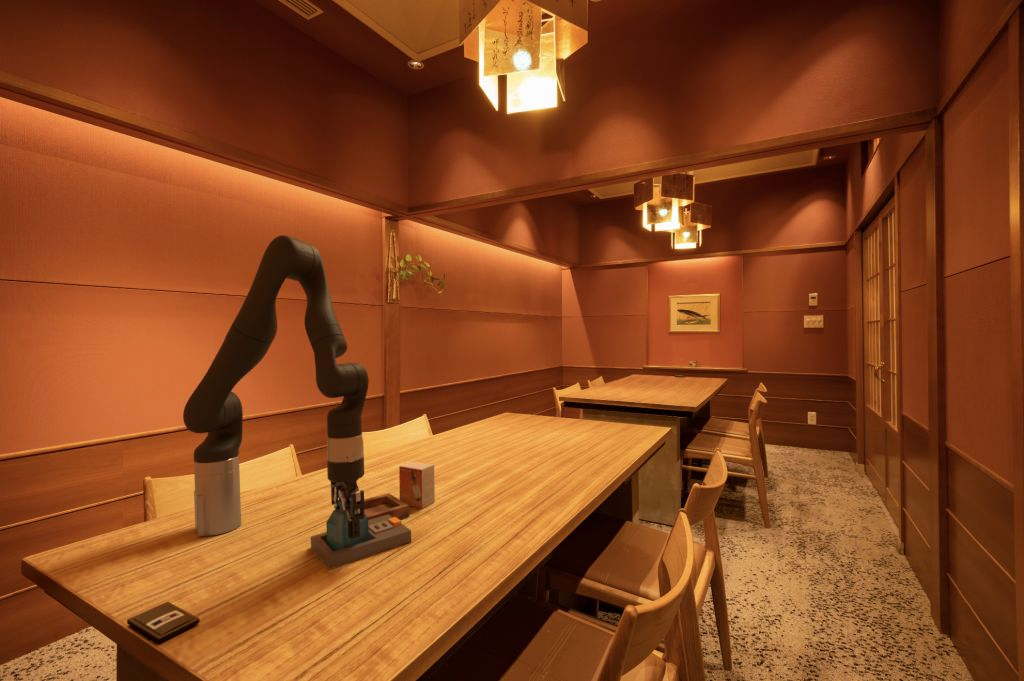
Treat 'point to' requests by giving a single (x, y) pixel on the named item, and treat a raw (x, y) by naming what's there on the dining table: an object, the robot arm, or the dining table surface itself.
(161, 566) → the dining table surface
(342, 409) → the robot arm
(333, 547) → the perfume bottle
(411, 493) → the small box
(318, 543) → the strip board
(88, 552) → the dining table surface
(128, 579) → the dining table surface
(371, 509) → the walnut tray
